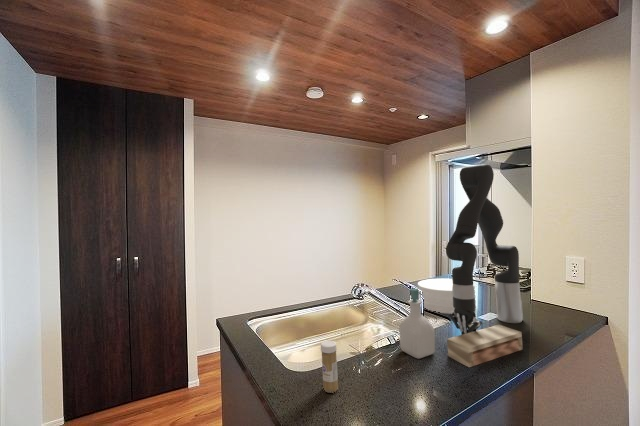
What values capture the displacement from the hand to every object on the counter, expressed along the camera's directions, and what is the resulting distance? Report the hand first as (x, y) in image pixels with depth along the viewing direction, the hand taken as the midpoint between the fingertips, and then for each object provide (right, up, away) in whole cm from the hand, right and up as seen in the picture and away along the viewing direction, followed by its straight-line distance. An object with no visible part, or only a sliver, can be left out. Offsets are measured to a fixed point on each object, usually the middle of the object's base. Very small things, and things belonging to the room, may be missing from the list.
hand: (466, 342), depth 108 cm
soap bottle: (-20, -2, -4) cm, 20 cm away
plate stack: (+13, -2, +47) cm, 49 cm away
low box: (+3, -1, -7) cm, 8 cm away
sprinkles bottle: (-51, -3, -24) cm, 57 cm away
